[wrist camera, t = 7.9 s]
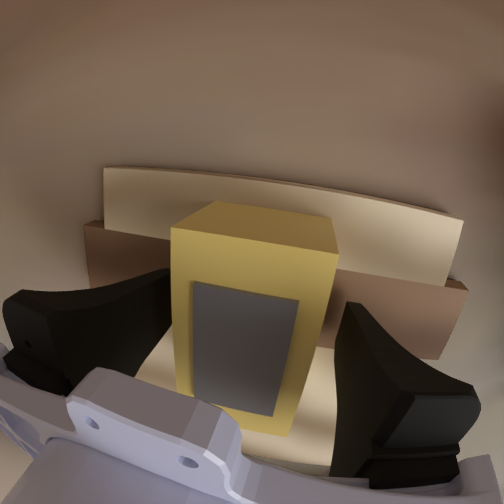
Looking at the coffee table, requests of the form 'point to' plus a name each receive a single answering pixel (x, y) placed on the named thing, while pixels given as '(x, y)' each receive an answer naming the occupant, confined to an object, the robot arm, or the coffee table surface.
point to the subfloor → (343, 289)
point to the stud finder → (249, 308)
